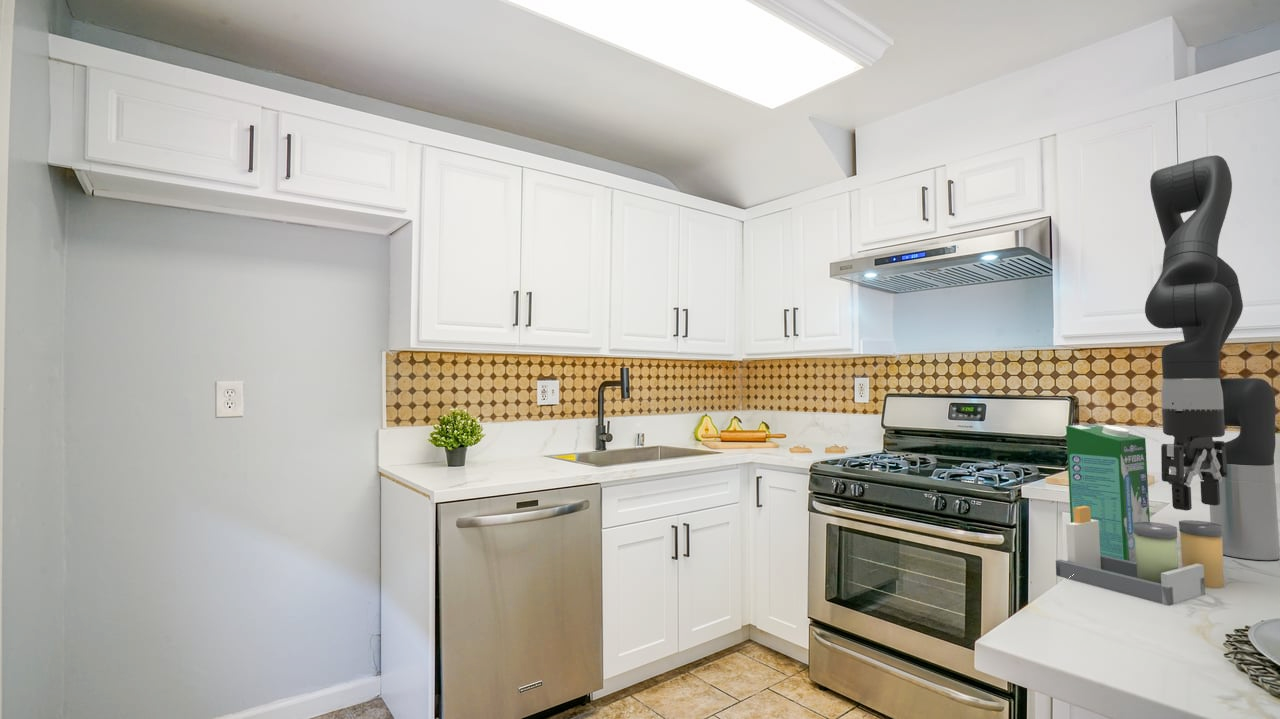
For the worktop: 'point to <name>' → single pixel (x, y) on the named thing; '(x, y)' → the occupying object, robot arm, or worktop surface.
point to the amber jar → (1203, 549)
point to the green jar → (1155, 549)
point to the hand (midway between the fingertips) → (1196, 507)
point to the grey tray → (1137, 580)
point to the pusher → (1083, 539)
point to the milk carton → (1109, 483)
